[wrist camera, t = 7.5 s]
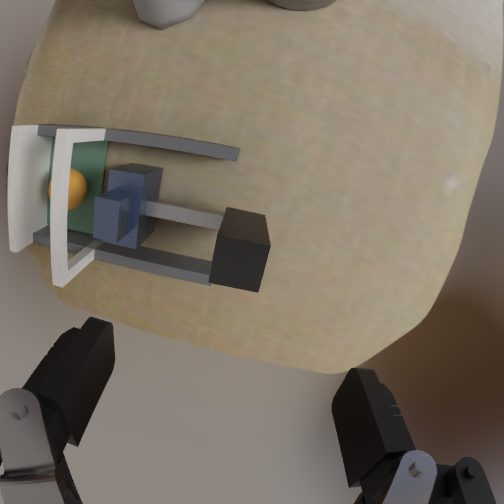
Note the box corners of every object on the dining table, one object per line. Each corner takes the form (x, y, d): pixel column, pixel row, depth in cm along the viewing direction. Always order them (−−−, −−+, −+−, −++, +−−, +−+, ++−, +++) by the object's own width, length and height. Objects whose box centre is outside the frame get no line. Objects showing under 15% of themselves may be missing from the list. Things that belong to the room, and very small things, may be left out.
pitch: (48, 124, 24) (-10, 127, 15) (240, 148, 25) (235, 152, 17) (41, 231, 28) (-9, 262, 19) (214, 271, 29) (201, 324, 21)
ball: (55, 173, 21) (94, 171, 24) (46, 166, 23) (81, 164, 26) (53, 217, 22) (91, 213, 25) (44, 205, 24) (78, 202, 27)
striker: (132, 163, 25) (70, 180, 15) (267, 189, 26) (277, 220, 16) (125, 224, 27) (69, 270, 17) (252, 251, 28) (252, 313, 18)
